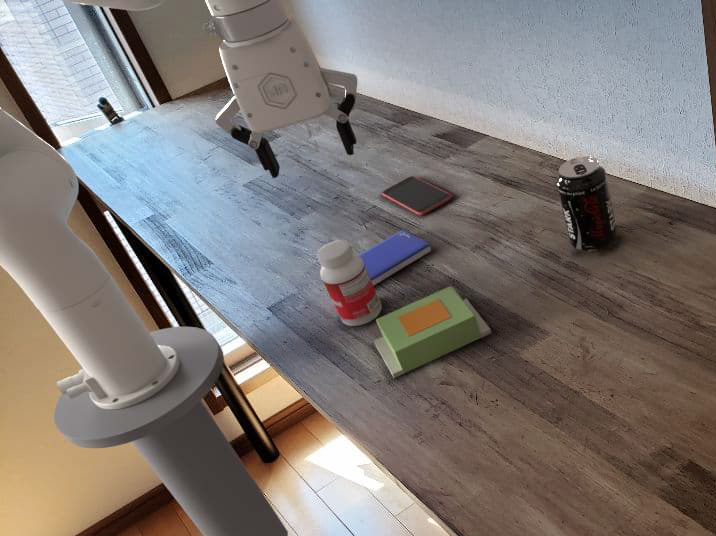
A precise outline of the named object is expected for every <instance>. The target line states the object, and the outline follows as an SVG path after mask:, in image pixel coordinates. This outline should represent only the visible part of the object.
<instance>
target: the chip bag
mask: <svg viewBox="0 0 716 536" xmlns="http://www.w3.org/2000/svg"><path fill="white" fill-rule="evenodd" d="M480 315H481V314H479V312H477V309H475V307H474V305H472V303H470V301H469V300H468V299H467V298H465V299H462V297H461V296H460V295H459V293H458V292H457V291H456V289H455V288H454V287H453V286H452V285H450V286H447V287H445V288H443V289H441V290H438V291H436V292H434V293H432V294H430V295H427V296H425V297H423V298H421V299H418V300H415V301H414V302H412V303H410V304H407V305H404V306H403V307H400V308H398V309H396V310H394V311H392V312H389V313H386V314H385V315H383V316H380V317H377V318H375V321H376V324H377V326H378V328H379V331H380V334H381V335H382V336H381V337H378V338H376V339H375V340H373V343H374V345H375V347H376V349H377V351H378V353H379V355H380V356H381V358H382V360H383V361H384V363H385V365H386V367H387V369H388V370H389V372H390V373H391V376H392V377H393V379H395V378H398V377H399V376H403V375H404V374H406V373H408V372H410V371H413V370H414V369H417V368H419V367H422V366H423V365H426V364H428V363H430V362H432V361H434V360H436V359H439V358H440V357H442V356H445V355H447V354H450V353H451V352H453V351H456V350H458V349H460V348H462V347H464V346H466V345H469V344H471V343H473V342H475V341H477V340H479V339H481V338H484V337H486V336H488V335H490V334H492V330H491V328H490V327H489V325H488V324H487V323H486V322H485V320H484V319H483V318H482V316H480Z"/></svg>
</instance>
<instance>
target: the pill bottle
mask: <svg viewBox="0 0 716 536" xmlns="http://www.w3.org/2000/svg"><path fill="white" fill-rule="evenodd" d="M316 257H317V259H318V262H319V264H320V265H321V268H320V272H319V273H320V274H319V275H320V278H321V281H322V283H323V284H324V286H325V289H326V291H327V294H328V296H329V297H330V300H331V302H332V304H333V306H334V309H335V310H336V312H337V315H338V316H339V319H340V320H341V322H342V324H344V325H346V326H349V327H357V326H358V327H359V326H363V325H366V324H368V323H370V322H373V321H374V320H376V319H377V318H378V316H379V315H380V314H381V311H382V308H383V307H382V303H381V300H380V297H379V295H378V293H377V291H376V289H375V285H374V286H373V284H372V281H371V279H370V277H369V274H368V272H367V270H366V267H365V265H364V262H363V260H362V259H361V258H360V257H359V255H358V254H356V253H354V250H353V248H352V246H351V243H350V242H349V241H347V240H344V239H338V240H333V241H330V242H328V243H325V244H324V245H323V246H321V247H319V248H318V250H317V253H316Z"/></svg>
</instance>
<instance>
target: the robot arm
mask: <svg viewBox="0 0 716 536" xmlns="http://www.w3.org/2000/svg"><path fill="white" fill-rule="evenodd" d="M61 1H62V2H66V3H67V2H68V3H73V4H79V5H84V6H85V5H86V6H94V7H101V8H109V9H117V10H125V11H143V10H150V9H154V8H156V7H159V6H161V5H162V4H164V3H165V2H167V0H61ZM204 1H205V3H206V6H207V7H208V9H209V12H210V14H211V16H210V17H211V18H210V19H208V21H206V22H203V23H202V27H203V30H204V32H205V34H206V35H207V37H208V36H213V35H214V36H218V38H219V37H220V39H221V41H222V42H221V43H220V45H219V46H218V49H219V54H220V57H221V61H222V65H223V68H224V70H225V73H226V76H227V79H228V82H229V85H230V88H231V89H232V92H233V94H234V96H233V97H232V98H231V99H230V100H229V102H228V103H227V104H226V105H225V106H224V107H222V109H221V111H220V112H219V113H218V114H217V115H216V118H215V123H216V125H217V126H219V127H220V129H223V131H225V132H226V133H227V134H229V135H230V136H231V137H232V139H233V140H235V141H238V142H239V143H242V144H244V145H247V146H248V147H249V148H250V149H251V150H254V152H255V154H256V155H257V158H258V160H259V162H260V164H261V166H262V168H263V170H264V171H265V172H266V171H268V172H269V173H270V176H271V177H272V179H276V178H278V176H279V175H280V168H281V166H280V163H279V162H278V159H277V157H276V155H275V153H274V151H273V147H271V144H270V142H269V140H268V139H267V138H266V137H264V136H263V135H264V133H269V132H272V131H276V130H279V129H282V128H287V127H290V126H293V125H296V124H299V123H303V122H306V121H310V120H312V119H316V118H318V117H322V116H323V115H325V114H326V115H327V116H329V117H330V118H333V120H335V128H336V131H337V132H338V135H339V138H340V141H341V143H342V145H343V147H344V151H345V153H346V155H347V156H353V155H355V153H354V150H355V149H354V148H355V147H354V145H357V143H358V141H357V137H356V135H355V132H354V130H353V127H352V125H351V122H350V120H349V117H350V114H351V112H352V110H353V108H354V106H355V104H356V97H357V91H358V76H357V75H356V74H354V73H350V72H346V71H345V72H344V71H339V70H334V69H330V68H325V67H321V65H320V63H319V61H318V59H317V57H316V55H315V53H314V50H313V48H312V47H311V45H310V43H309V41H308V39H307V37H306V36H305V33H304V32H303V31H302V29H301V27H300V26H299V24H298V23H297V21H296V20H295V19H293V18H288V17H289V16H288V14H287V12H286V10H285V7H284V4H283V2H282V0H204ZM329 84H331V85H336V86H342V87H343V88H345V89H344V90H345V92H344V95H343V98H342V100H341V102H340V101H338V100H336V99H335V98H333V97H331V96H332V95H331V94H332V92H331V89H330V85H329ZM239 112H241V115H242V117H243V119H244V121H245V123H246V125H247V127H248V128H249V129H248V128H246V127H244V126H242V125H240V124H237V123H236V121H235V120H233V118H234V117H235V116H236V115H237V114H238V113H239ZM79 189H80V188H79V179H78V176H77V174H76V172H75V170H74V168H73V167H72V165H71V164H70V162H69V161H68V160H67V159H66V158H65V157H64V156H63V155H62V154H61V153H60V152H59V151H58V150H56V149H55V148H54V147H53V146H51V145H50V144H49V143H47V141H46V140H43V138H41V137H39V136H38V135H37V134H36V133H35V132H33V131H32V130H30V129H29V128H28V127H26V125H24V124H22V122H20V121H19V120H17V119H16V118H15V117H14V116H12V115H11V114H9V113H8V112H7V111H6V110H4V109H3V108H2V107H0V267H2V269H3V270H5V272H6V273H8V274H9V276H10V277H11V278H12V280H13V281H15V282H16V284H17V285H18V286H19V287H20V288H21V289H22V291H23V292H24V294H25V295H26V296H27V297H28V298H29V300H30V301H31V303H33V305H34V307H35V308H36V309H37V310H38V311H39V312H40V314H41V315H42V316H43V318H44V319H45V320H46V322H47V323H48V325H49V326H50V327H51V328H52V330H53V331H54V332H55V333H56V335H57V336H58V337H59V339H60V340H61V341H62V343H63V344H64V345H65V346H66V348H67V349H68V350H69V352H70V353H71V354H72V356H73V357H74V358H75V360H76V361H77V362H78V364H79V365H80V366H81V367H82V368H81V369H79V370H78V373H77V374H74V375H72V376H68V377H65V378H63V379H62V380H58V381H57V382H56V386H57V388H58V390H59V391H60V393H61V394H68V395H69V397H70V398H75V397H77V396H79V395H81V394H83V393H85V392H87V391H88V392H89V393H90V397H91V399H92V401H93V402H94V403H95V405H97V406H98V407H100V408H103V409H111V410H112V409H121V408H126V407H129V406H132V405H135V404H138V403H140V402H142V401H144V400H146V399H148V398H150V397H151V396H153V395H155V394H156V393H157V392H159V391H160V390H162V389H163V388H164V387H165V386H166V385H167V384H168V383H169V382H170V381H171V380H172V379H173V378H174V376H175V375H176V373H177V371H178V369H179V366H180V358H179V356H178V355H177V353H176V352H175V351H174V349H172V348H170V347H167V346H159V345H157V344H156V342H155V341H154V339H153V338H152V336H151V335H150V332H149V330H148V328H147V327H146V326H145V325H144V322H143V321H142V319H141V318H140V317H139V316H138V314H137V312H136V311H135V310H134V308H133V306H132V305H131V303H130V302H129V301H128V298H126V296H125V294H124V293H123V292H122V290H121V288H120V287H119V285H118V284H117V282H116V281H115V279H114V278H113V276H112V274H111V273H110V272H109V271H108V269H107V268H106V266H105V265H104V263H103V262H102V260H101V259H100V258H99V256H98V255H97V254H96V253H95V251H94V250H93V249H92V248H91V247H90V246H89V245H88V244H87V243H86V242H85V241H83V239H81V238H80V237H79V236H78V235H77V234H76V233H75V232H74V231H73V230H72V229H71V227H70V226H69V225H68V220H69V216H70V214H71V212H72V210H73V208H74V206H75V204H76V201H77V198H78V196H79Z"/></svg>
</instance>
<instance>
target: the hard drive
mask: <svg viewBox="0 0 716 536" xmlns="http://www.w3.org/2000/svg"><path fill="white" fill-rule="evenodd" d="M430 252H432V248H431V246H430V243H428V242H427V241H425V240H424V239H421V238H419V237H418V236H417V235H414V234H412V233H410V232H408V231H406V229H405V230H404V229H401V230H400V231H398V232H396V233H394V234H393V235H391V236H389V237H388V238H386V239H384V240H382V241H381V242H379V243H377V244H376V245H374V246H373V247H371V248H369V249H367V250H366V251H364V252H362V253H360V254H359V255H358V256H359V257H360V258H361V259H362V260H363V262H364V265H365V267H366V270H367V272H368V274H369V277H370V279H371V281H372V284H373V286H374V287H375V286H376V285H377V284H379V283H381V282H382V281H384V280H386V279H387V278H389V277H390V276H392V275H394V274H395V273H397V272H399V271H400V270H403V269H404V268H406V267H407V266H409V265H410V264H412V263H413V262H415V261H417V260H419V259H420V258H422V257H424V256H426V255H427V254H428V253H430Z"/></svg>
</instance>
